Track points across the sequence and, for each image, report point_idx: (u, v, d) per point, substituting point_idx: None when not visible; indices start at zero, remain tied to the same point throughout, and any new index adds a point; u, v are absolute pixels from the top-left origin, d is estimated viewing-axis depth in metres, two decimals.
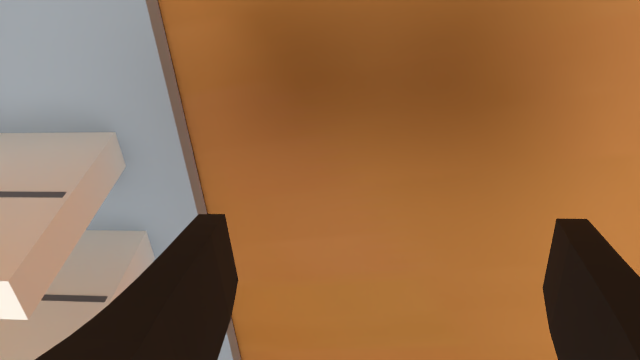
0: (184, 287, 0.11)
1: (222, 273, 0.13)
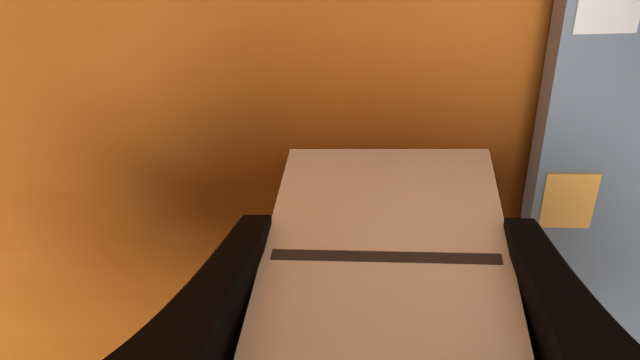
0: (239, 288, 0.11)
1: None
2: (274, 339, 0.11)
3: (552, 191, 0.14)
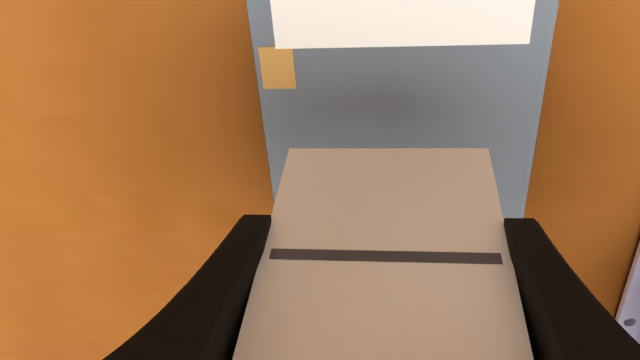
0: (239, 288, 0.11)
1: None
2: (273, 339, 0.11)
3: (264, 60, 0.21)
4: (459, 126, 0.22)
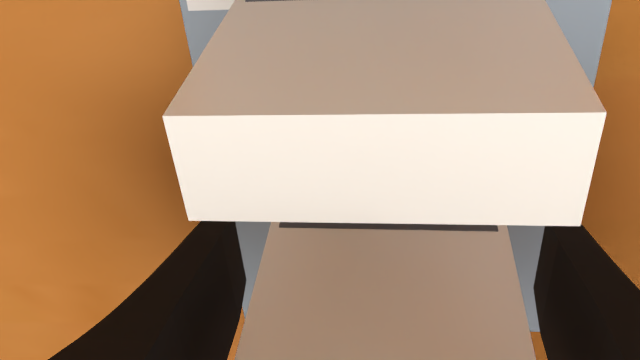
0: (195, 287, 0.11)
1: (231, 273, 0.13)
2: (284, 297, 0.12)
3: None
4: None
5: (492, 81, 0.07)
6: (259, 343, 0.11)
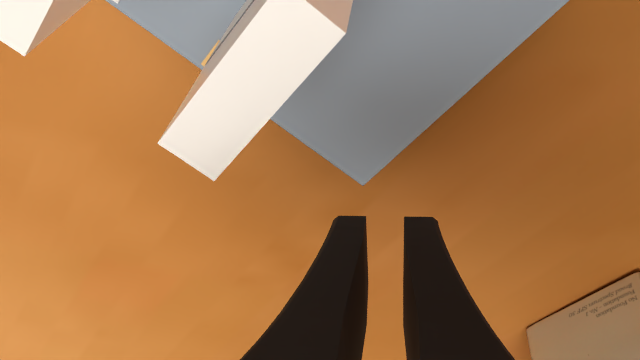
0: (351, 292, 0.11)
1: (365, 277, 0.13)
2: (193, 88, 0.15)
3: None
4: None
5: None
6: (174, 117, 0.15)
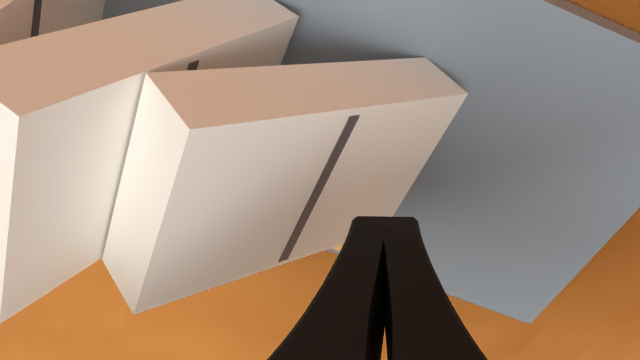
0: (374, 292, 0.11)
1: (384, 277, 0.13)
2: None
3: (341, 247, 0.20)
4: (530, 111, 0.17)
5: None
6: None
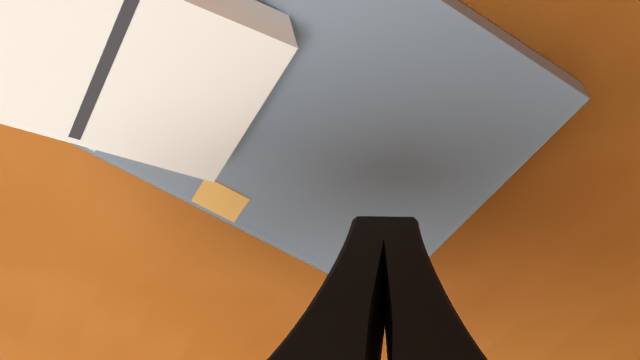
0: (374, 292, 0.11)
1: (384, 277, 0.13)
2: None
3: (206, 204, 0.20)
4: (393, 90, 0.17)
5: None
6: None
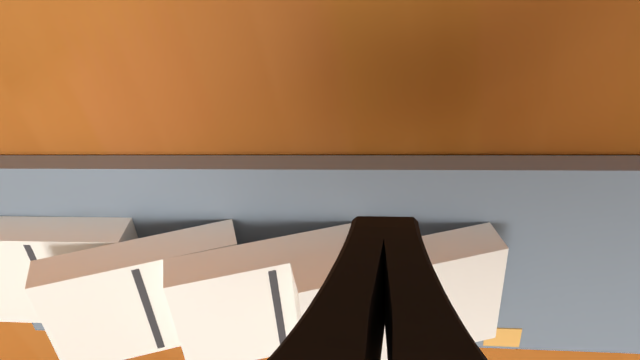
0: (375, 292, 0.11)
1: (384, 277, 0.13)
2: None
3: (494, 343, 0.28)
4: (583, 229, 0.24)
5: None
6: None
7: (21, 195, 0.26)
